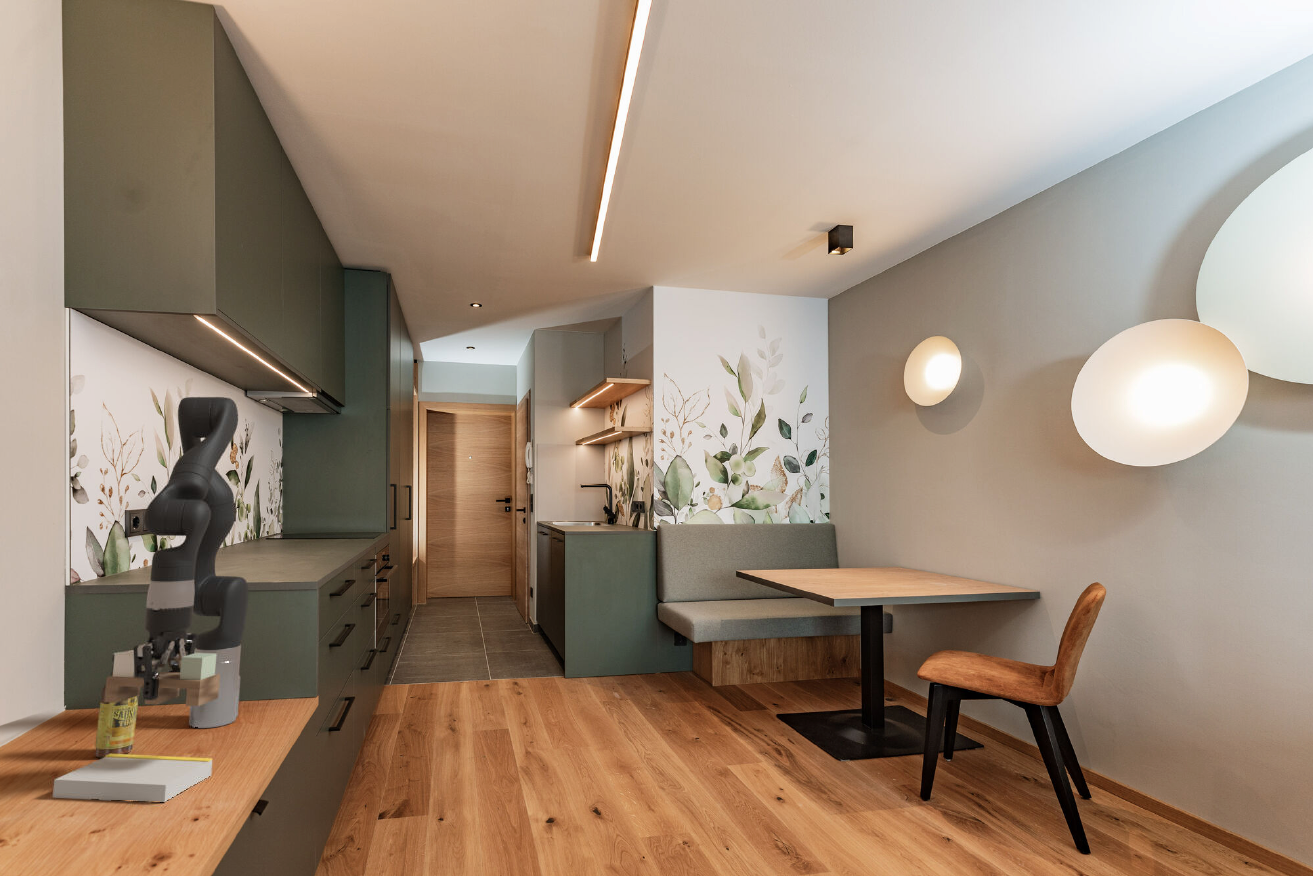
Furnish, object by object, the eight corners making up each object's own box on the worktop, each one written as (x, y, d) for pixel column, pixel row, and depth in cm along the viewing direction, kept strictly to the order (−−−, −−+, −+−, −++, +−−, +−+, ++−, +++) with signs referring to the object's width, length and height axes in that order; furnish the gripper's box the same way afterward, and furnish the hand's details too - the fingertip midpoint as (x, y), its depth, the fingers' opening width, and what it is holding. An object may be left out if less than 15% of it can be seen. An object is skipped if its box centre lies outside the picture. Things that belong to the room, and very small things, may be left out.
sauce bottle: (111, 761, 140) (120, 657, 142) (85, 757, 142) (95, 655, 143) (142, 749, 147) (150, 651, 148) (116, 746, 148) (125, 648, 150)
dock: (108, 771, 135) (110, 753, 136) (211, 776, 134) (212, 758, 135) (52, 797, 124) (54, 778, 124) (164, 803, 123) (166, 783, 123)
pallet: (127, 694, 138) (130, 670, 139) (218, 698, 137) (220, 674, 138) (104, 702, 133) (106, 677, 133) (198, 706, 132) (200, 681, 132)
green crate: (194, 674, 137) (196, 652, 138) (214, 674, 137) (216, 653, 137) (179, 679, 133) (181, 657, 134) (200, 680, 133) (202, 658, 133)
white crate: (129, 671, 138) (131, 650, 138) (149, 672, 138) (151, 651, 138) (112, 676, 134) (114, 654, 134) (133, 677, 134) (135, 655, 134)
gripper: (178, 598, 144) (170, 684, 142) (121, 608, 130) (112, 704, 128) (214, 599, 144) (207, 686, 142) (161, 610, 129) (153, 706, 128)
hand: (162, 694), depth 135 cm, fingers closed on pallet, 5 cm apart
